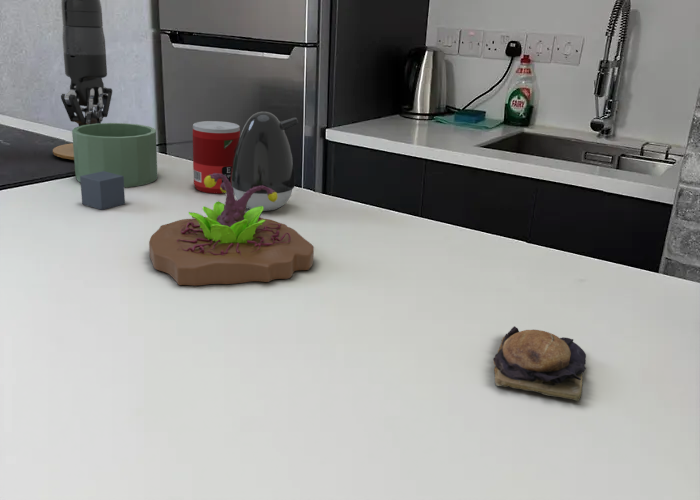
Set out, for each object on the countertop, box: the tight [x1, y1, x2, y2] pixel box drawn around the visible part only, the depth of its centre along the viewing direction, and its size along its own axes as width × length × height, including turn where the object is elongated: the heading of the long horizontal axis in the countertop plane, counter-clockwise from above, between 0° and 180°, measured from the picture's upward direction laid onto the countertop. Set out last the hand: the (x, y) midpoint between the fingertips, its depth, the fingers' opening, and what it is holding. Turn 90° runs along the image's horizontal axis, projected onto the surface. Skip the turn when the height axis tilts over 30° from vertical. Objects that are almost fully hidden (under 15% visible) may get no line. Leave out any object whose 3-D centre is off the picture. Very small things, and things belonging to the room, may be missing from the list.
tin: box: [71, 122, 158, 188], centre depth 120 cm, size 14×14×8 cm
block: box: [79, 171, 126, 211], centre depth 105 cm, size 4×4×4 cm
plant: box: [148, 173, 315, 287], centre depth 86 cm, size 20×20×11 cm
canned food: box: [192, 120, 241, 195], centre depth 117 cm, size 8×8×11 cm
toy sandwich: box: [492, 326, 587, 402], centre depth 65 cm, size 11×8×4 cm
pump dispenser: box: [230, 111, 299, 212], centre depth 107 cm, size 10×10×15 cm
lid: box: [52, 118, 97, 161], centre depth 135 cm, size 14×14×7 cm
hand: (91, 141), depth 135 cm, fingers closed on lid, 2 cm apart
